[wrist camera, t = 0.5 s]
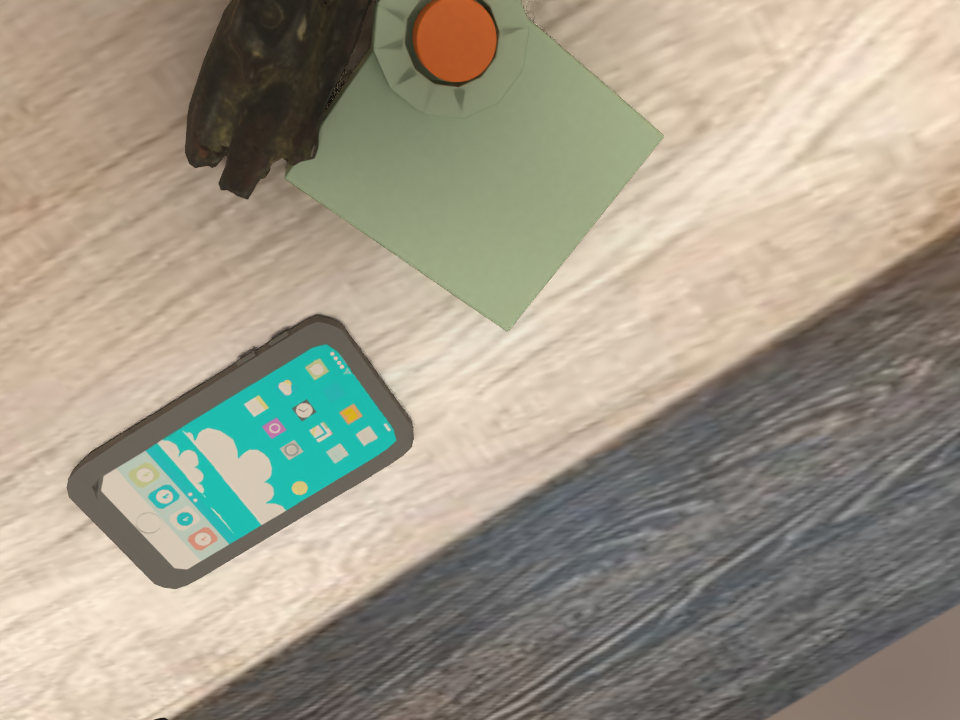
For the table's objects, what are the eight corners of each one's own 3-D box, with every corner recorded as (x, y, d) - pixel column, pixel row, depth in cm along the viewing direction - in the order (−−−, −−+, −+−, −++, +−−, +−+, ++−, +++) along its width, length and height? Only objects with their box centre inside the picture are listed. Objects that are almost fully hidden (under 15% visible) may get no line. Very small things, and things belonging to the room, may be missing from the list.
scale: (265, 155, 38) (261, 172, 35) (426, -79, 36) (437, -84, 33) (500, 318, 43) (515, 346, 40) (657, 120, 41) (686, 133, 37)
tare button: (396, 44, 35) (399, 48, 33) (443, -23, 34) (449, -22, 32) (458, 93, 36) (464, 98, 34) (505, 29, 35) (513, 32, 34)
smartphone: (50, 481, 41) (326, 310, 40) (55, 470, 42) (326, 302, 41) (170, 602, 45) (426, 448, 44) (173, 590, 46) (424, 439, 45)
